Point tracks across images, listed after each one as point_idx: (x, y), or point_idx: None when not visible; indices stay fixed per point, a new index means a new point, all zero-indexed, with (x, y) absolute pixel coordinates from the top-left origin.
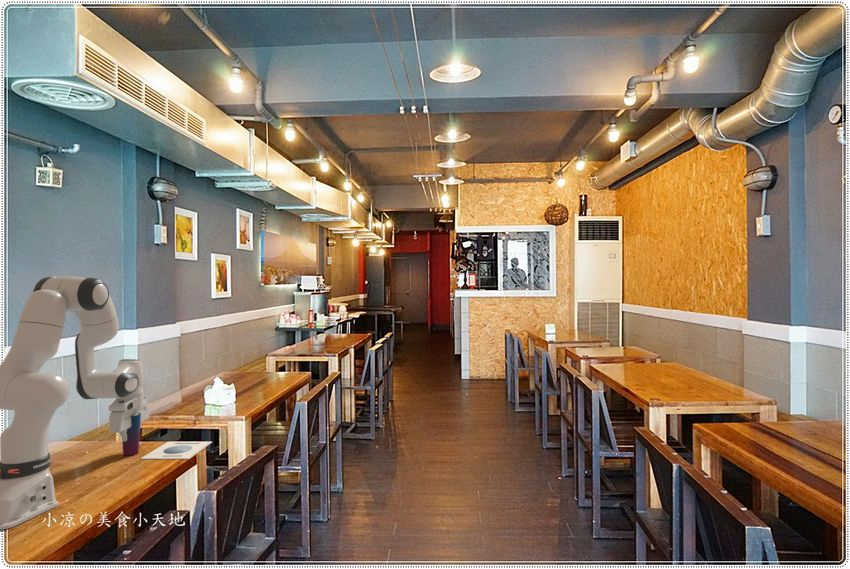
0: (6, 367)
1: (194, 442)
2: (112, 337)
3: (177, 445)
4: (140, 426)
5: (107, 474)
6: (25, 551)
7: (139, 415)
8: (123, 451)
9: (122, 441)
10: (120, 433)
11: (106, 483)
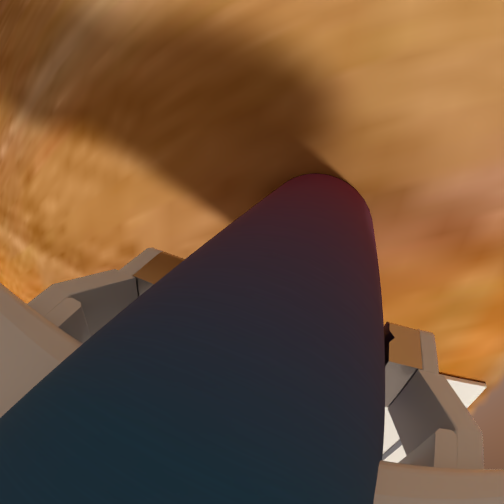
0: None
1: (398, 457)
2: None
3: (385, 425)
4: (414, 449)
5: (46, 211)
6: None
7: None
8: (272, 192)
9: (241, 217)
10: (65, 291)
11: (17, 236)
